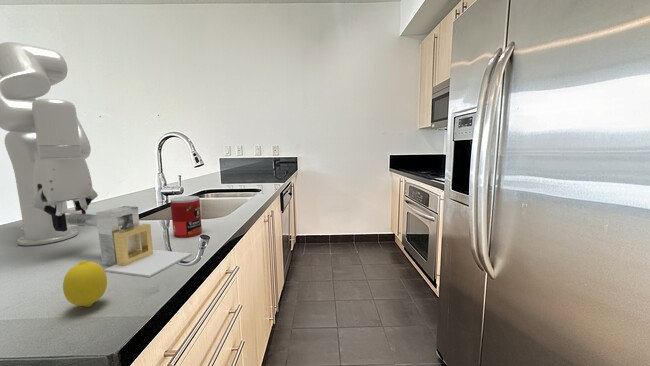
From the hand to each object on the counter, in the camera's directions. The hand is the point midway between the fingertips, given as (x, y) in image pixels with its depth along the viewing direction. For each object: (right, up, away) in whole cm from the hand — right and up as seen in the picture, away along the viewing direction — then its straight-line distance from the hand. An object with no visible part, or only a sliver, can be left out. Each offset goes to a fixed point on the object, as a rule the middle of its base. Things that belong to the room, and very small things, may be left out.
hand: (71, 227), depth 70 cm
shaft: (+7, 0, -2) cm, 8 cm away
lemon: (+23, -10, -23) cm, 34 cm away
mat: (+23, -7, -5) cm, 24 cm away
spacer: (+19, -3, -5) cm, 19 cm away
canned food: (+21, -5, +16) cm, 27 cm away
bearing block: (+15, -7, -3) cm, 17 cm away
